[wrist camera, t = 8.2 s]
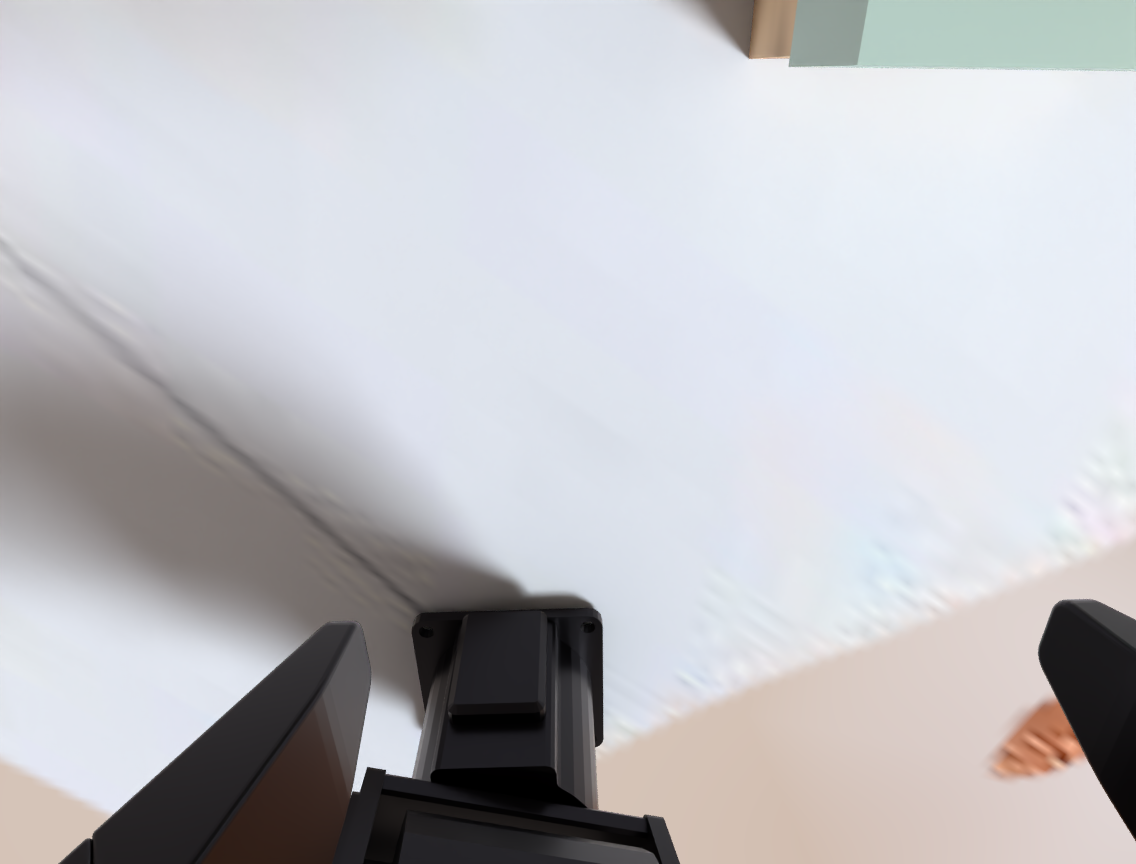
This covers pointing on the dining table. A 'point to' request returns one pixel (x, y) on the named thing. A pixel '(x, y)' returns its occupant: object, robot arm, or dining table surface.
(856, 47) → the teal cap block
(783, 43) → the oak block
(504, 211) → the dining table surface
